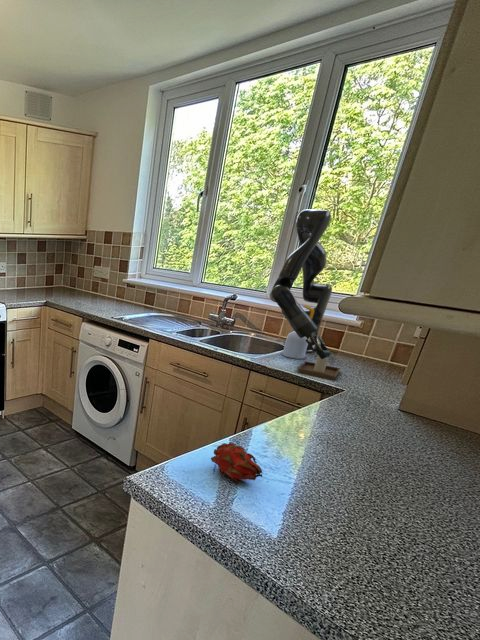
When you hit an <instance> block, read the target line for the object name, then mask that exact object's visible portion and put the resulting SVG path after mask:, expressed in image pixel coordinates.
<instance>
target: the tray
mask: <svg viewBox="0 0 480 640" xmlns="http://www.w3.org/2000/svg"><path fill="white" fill-rule="evenodd" d="M315 363H316V362H312V361H307V360H305V361H304V362H303V363H302V364H301V365H300V366H299V368H298V370H297V373H299V374H302V375H303V374H304V375H309V376H312V377H317V378H322V379H327V380H332V381H336V379H337V377H338V375H339V373H340V370H341V368H340V367H336V366H331V365H328V364H327V365H326V368H325V371H324V372H323V373H321V372H316V371H314V370H313V369H314V366H315Z"/></svg>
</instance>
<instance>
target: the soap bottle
mask: <svg viewBox="0 0 480 640" xmlns="http://www.w3.org/2000/svg"><path fill="white" fill-rule="evenodd" d="M302 308H305V309H309V310H310V316H309V317H310V318H311V319H312V318H313V315H314V311H315V310H314V309H313V308H314V307H312V306H309V305H307V304H303V305H302ZM306 339H307V338H306V337H303V338H300V337H299V336H298V335H297V333H296V332H295V331H294V330H293V331H291V332H289V333H287V336H286V340H285V343H284V346H283V350H282V355H283V356H284V357H285V358H289V359H296V360H302V359H304V358H305V357H306V356H305V355H306V353H307V352H306V349H307V346H308V343H307V342H306Z"/></svg>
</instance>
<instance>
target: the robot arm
mask: <svg viewBox="0 0 480 640" xmlns="http://www.w3.org/2000/svg"><path fill="white" fill-rule="evenodd" d="M296 217H297V218H296V221H295V229H296V233H297V238H298V241H299V247H298V248H297V249H295V250H294V251H293V252H291V254H289V255H288V257H287V258H286V259H285V261H284V263H283V265H282V266H281V267H282V268H281V270H280V272H279V273H278V277H277V279H276V280H275V283H274V284H273V286H272V288H271V290H270V292H269V299H270V301H272V302H273V303H275V304H277V306H278V307H279V309H281V310H280V311H281V313H282V315H283V317H285V319H286V320H287V322H288V323H289V325H290V327H291V328H292V330H293V331H295V332H296V333H297V335H298V336H299V337H300V338H303V337H306V338H307V339H306V342H307V343H308V346H307V349H306V353H313V352H314V353H316V354H317V356H318V355H319V357H320V358H321V359H324V358H326V357H327V355H326V354H325V353H324V351H323V350H328V351H330V350H329V349H328V347H327V346H326V342H325V340H324V339H322V337H321V336H320V334H319V331H320V328H321V324H322V322H323V318H324V315H325V312H326V310H327V307H328V303H329V301H330V299H331V297H332V296H331V295H332V292H333V287H332V285H330V284H324V283H317V282H315V279H316V278H317V276H318V275H319V274H320V273H321V272H323V270H324V269H325V267H326V265H327V252H326V249H325V248H324V246H323V245H322V244H321V242H319V241H320V240H321V238H322V237H323V235H324V234H325V232H326V231H327V229H328V227H329V225H330V223H331V218H332V214H331V211H330V210H326V209H313V208H312V209H311V208H307V209H303V210H301V211H300V212H299V213H298V215H297V216H296ZM301 271H302V299H303V301H304V302H307V303H312V304H316V306H314V307H312V308H313V309H314V310H315V311H314V315H313V318H312V319H311V318H310V317H309V316H310V310H309V309H306V308H305V309H303V306H301V304H300V303H298V301H297V298H296V297H295V296H294V294H293V292H292V291H291V289H292V288H293V287H292V286H293V284H294V283H295V281H296V280H297V278H298V277H299V274H300V273H301Z"/></svg>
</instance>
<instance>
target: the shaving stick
mask: <svg viewBox="0 0 480 640" xmlns="http://www.w3.org/2000/svg"><path fill="white" fill-rule="evenodd" d="M328 350H329V349H328ZM328 350H323V351H324V353H325V354H326V355H327V357H326V358H324V359H321V358H320V357H319V355H318V354H317V357H316V360H315V362H314V363H315V366H314V369H313V370H314V371H316V372H321V373H323V372H324V371H325V368H326V365H327V366H328V361H329V358H330V357H331V354H332V352H331V351H330V350H329V351H328Z"/></svg>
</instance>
